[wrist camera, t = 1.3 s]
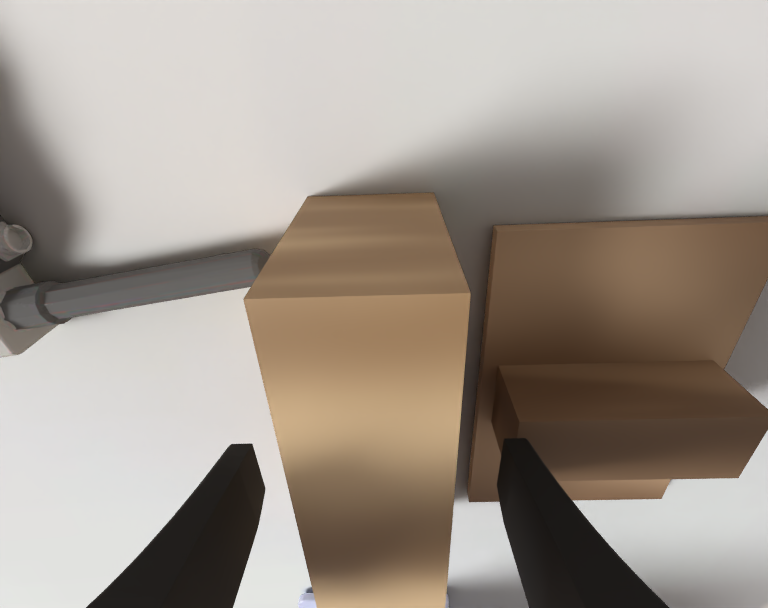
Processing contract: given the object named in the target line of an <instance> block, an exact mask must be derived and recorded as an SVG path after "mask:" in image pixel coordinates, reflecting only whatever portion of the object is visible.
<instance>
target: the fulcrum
mask: <svg viewBox="0 0 768 608" xmlns="http://www.w3.org/2000/svg"><path fill="white" fill-rule="evenodd" d="M767 279H768V216H753V217H724V218H695V219H666V220H637V221H608V222H579V223H550V224H521V225H494V226H493V236H492V246H491V256H490V266H489V276H488V286H487V296H486V306H485V316H484V326H483V336H482V346H481V356H480V366H479V376H478V386H477V396H476V406H475V417H474V427H473V437H472V447H471V457H470V467H469V477H468V487H467V494H468V499H469V502H500V501H499V495H498V490H497V479H498V473H499V466H500V460H501V454H502V447H503V441H504V439H506V438H526V439H527V440H528V441H529V442H530V443H531V445H532V446H533V448H534V449H535V451H536V452H537V454H538V455H539V457H540V458H541V459H542V461H543V462H544V464H545V465H546V467H547V468H548V469H549V471H550V472H551V473H552V475H553V476H554V478H555V479H556V480H557V482H558V483H559V484H560V486H561V487H562V488H563V490H564V491H565V492H566V494H567V495H568V496H569V497H570V499H571V500H621V499H662V497H663V494H664V492H665V490H666V488H667V486H668V484H669V482H670V480H671V479H708V478H739V476H740V474H741V473H742V471H743V469H744V468H745V466H746V464H747V463H748V461H749V460H750V458H751V456H752V455H753V453H754V451H755V450H756V448H757V446H758V445H759V443H760V441H761V440H762V438H763V437H764V435H765V433H766V432H767V430H768V409H767V408H766V407H765V406H763V405H762V404H761V403H760V402H759V401H758V400H757V399H756V398H755V397H753V396H752V395H751V394H750V393H749V392H748V391H747V390H746V389H745V388H743V387H742V386H741V385H740V384H739V383H738V382H737V381H736V380H735V379H733V378H732V377H731V376H730V375H729V374H728V373H727V372H726V371H725V370H724V368H725V366H726V364H727V362H728V360H729V358H730V356H731V354H732V352H733V350H734V348H735V345H736V343H737V341H738V339H739V337H740V335H741V333H742V331H743V329H744V327H745V325H746V323H747V321H748V319H749V316H750V314H751V312H752V310H753V308H754V306H755V304H756V302H757V300H758V298H759V296H760V294H761V292H762V290H763V288H764V285H765V283H766V281H767Z"/></svg>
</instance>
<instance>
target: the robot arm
mask: <svg viewBox="0 0 768 608" xmlns="http://www.w3.org/2000/svg"><path fill="white" fill-rule="evenodd" d="M497 490H498V495H499V501H500V506H501V511H502V516H503V521H504V525H505V528H506V532H507V535H508V539H509V542H510V545H511V549H512V552H513V555H514V559H515V562H516V565H517V568H518V572H519V575H520V578H521V582H522V585H523V588H524V591H525V595H526V598H527V601H528V605H529V608H669V607H668V606H667V605H666V604H665V603H664V602H663V601H662V600H661V599H660V598H659V597H658V596H657V595H656V594H655V593H654V592H653V591H652V590H651V589H650V588H649V587H648V586H647V585H646V584H645V583H644V582H643V581H642V580H641V579H640V578H639V577H638V576H637V575H636V574H635V573H634V572H633V571H632V570H631V568H630V567H629V566H628V565H627V564H626V563H625V562H624V561H623V560H622V559H621V558H620V557H619V556H618V554H617V553H616V552H615V551H614V550H613V549H612V548H611V547H610V546H609V544H608V543H607V542H606V541H605V540H604V539H603V537H602V536H601V535H600V534H599V533H598V532H597V531H596V529H595V528H594V527H593V526H592V525H591V523H590V522H589V521H588V520H587V519H586V517H585V516H584V515H583V514H582V512H581V511H580V510H579V509H578V507H577V506H576V505H575V504H574V502H573V501H572V500H571V499H570V497H569V496H568V495H567V494H566V492H565V491H564V490H563V488H562V487H561V486H560V484H559V483H558V482H557V480H556V479H555V478H554V476H553V475H552V473H551V472H550V471H549V469H548V468H547V467H546V465H545V464H544V462H543V461H542V459H541V458H540V457H539V455H538V454H537V452H536V451H535V449H534V448H533V446H532V445H531V443H530V442H529V441H528V440H527V439H526V438H506V439H504V441H503V447H502V454H501V460H500V466H499V473H498V479H497ZM264 494H265V486H264V482H263V479H262V475H261V472H260V469H259V465H258V462H257V458H256V455H255V452H254V448H253V445H252V444H231V445H230V446H229V447H228V448H227V449H226V451H225V452H224V453H223V455H222V456H221V457H220V459H219V460H218V461H217V462H216V464H215V465H214V466H213V468H212V469H211V470H210V472H209V473H208V474H207V475H206V477H205V478H204V479H203V481H202V482H201V483H200V484H199V486H198V487H197V488H196V489H195V491H194V492H193V493H192V494H191V496H190V497H189V498H188V499H187V500H186V502H185V503H184V504H183V505H182V506H181V508H180V509H179V510H178V511H177V513H176V514H175V515H174V516H173V517H172V518H171V520H170V521H169V522H168V523H167V524H166V525H165V526H164V528H163V529H162V530H161V531H160V532H159V533H158V534H157V535H156V537H155V538H154V539H153V540H152V541H151V542H150V543H149V545H148V546H147V547H146V548H145V549H144V550H143V551H142V552H141V553H140V554H139V555H138V556H137V558H136V559H135V560H134V561H133V562H132V563H131V564H130V565H129V566H128V567H127V568H126V569H125V570H124V571H123V572H122V573H121V574H120V575H119V576H118V577H117V578H116V579H115V580H114V581H113V582H112V583H111V584H110V585H109V586H108V587H107V588H106V589H105V590H104V591H103V592H102V593H101V594H100V595H99V596H98V597H97V598H96V599H95V600H94V601H92V602H91V603H90V604H89V605H88V606H87V607H86V608H233V605H234V602H235V599H236V596H237V593H238V590H239V586H240V583H241V580H242V577H243V574H244V570H245V567H246V564H247V561H248V558H249V555H250V551H251V548H252V545H253V542H254V538H255V535H256V532H257V528H258V525H259V520H260V515H261V510H262V505H263V499H264ZM298 606H299V608H317V606H316V602H315V598H314V593H304V594H302V595H301V596H300V597H299V602H298ZM445 608H449V598H448V595H447V594H446V604H445Z"/></svg>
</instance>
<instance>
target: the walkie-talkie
mask: <svg viewBox="0 0 768 608" xmlns="http://www.w3.org/2000/svg"><path fill="white" fill-rule="evenodd" d="M31 248H32V238H31V235H30V234H29V232H28V231H27V230H26V229H25V228H23V227H21V226H19V225H7V224H6V223H5V221H4V220H3V219H2V217H1V216H0V358H1V357H7V356H13V355H18V354H21V353H23V352H24V351H25V350H26V349H28V348H29V347H30V346H32V345H33V344H34V343H35V342H37V341H38V340H39V339H41V338H42V337H43V336H44V335H46V334H47V333H48V332H49V331H51V330H52V329H53V328H55V327H56V326H57V325H58V324H64V323H65V322H67V321H69V320H70V319H71V317H76V316H82V315H88V314H94V313H100V312H105V311H111V310H117V309H123V308H129V307H135V306H141V305H147V304H152V303H158V302H164V301H170V300H176V299H182V298H188V297H194V296H199V295H205V294H211V293H217V292H223V291H229V290H235V289H241V288H246V287H251V286H252V285H253V283H254V281H255V280H256V278H257V277H258V275H259V273H260V272H261V270H262V269H263V267H264V265H265V264H266V262H267V261H268V259H269V257H270V255H269V254H268V253H267V252H265V251H264V250H260V249H251V250H245V251H239V252H234V253H228V254H223V255H217V256H212V257H206V258H200V259H195V260H189V261H184V262H178V263H173V264H167V265H161V266H156V267H150V268H145V269H139V270H133V271H128V272H122V273H117V274H111V275H106V276H100V277H94V278H89V279H83V280H78V281H72V282H67V283H59V282H56V281H47V282H41V283H36V284H35V283H34V282H33V280H32V279H31V278H30V276H29V275H28V273H27V272H26V270H25V269H24V267H23V266H22V265H21V264H19V263H20V261H21V259H22V257H23V255H24V253H25V252H27V251H29V250H30V249H31Z"/></svg>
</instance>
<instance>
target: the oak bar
mask: <svg viewBox="0 0 768 608" xmlns="http://www.w3.org/2000/svg"><path fill="white" fill-rule="evenodd" d="M470 296H471V292H470V290H469V287H468V284H467V281H466V279H465V276H464V273H463V271H462V268H461V265H460V262H459V260H458V257H457V254H456V252H455V249H454V246H453V243H452V241H451V238H450V235H449V233H448V230H447V227H446V224H445V222H444V219H443V216H442V214H441V211H440V208H439V206H438V203H437V200H436V197H435V195H434V193H403V194H373V195H342V196H312V197H307V198H306V200H305V202H304V203H303V205H302V206H301V208H300V210H299V211H298V213H297V214H296V216H295V218H294V219H293V221H292V222H291V224H290V226H289V227H288V229H287V230H286V232H285V234H284V235H283V237H282V238H281V240H280V242H279V243H278V245H277V246H276V248H275V250H274V251H273V253H272V254H271V256H270V257H269V259H268V261H267V262H266V264H265V265H264V267H263V269H262V270H261V272H260V273H259V275H258V277H257V278H256V280H255V281H254V283H253V285H252V286H251V288H250V289H249V291H248V293H247V294H246V296H245V297H244V304H245V308H246V312H247V316H248V320H249V325H250V329H251V333H252V337H253V341H254V346H255V350H256V354H257V358H258V362H259V367H260V371H261V375H262V379H263V383H264V388H265V392H266V396H267V400H268V404H269V409H270V413H271V417H272V421H273V425H274V430H275V434H276V438H277V442H278V446H279V451H280V455H281V459H282V463H283V467H284V472H285V476H286V480H287V484H288V488H289V493H290V497H291V501H292V505H293V509H294V514H295V518H296V522H297V526H298V530H299V535H300V539H301V543H302V547H303V551H304V556H305V560H306V564H307V568H308V572H309V577H310V581H311V585H312V589H313V593H314V598H315V602H316V606H317V608H445V604H446V591H447V579H448V567H449V554H450V542H451V530H452V518H453V505H454V493H455V481H456V468H457V456H458V444H459V432H460V419H461V407H462V395H463V382H464V370H465V358H466V346H467V333H468V321H469V309H470Z"/></svg>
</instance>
